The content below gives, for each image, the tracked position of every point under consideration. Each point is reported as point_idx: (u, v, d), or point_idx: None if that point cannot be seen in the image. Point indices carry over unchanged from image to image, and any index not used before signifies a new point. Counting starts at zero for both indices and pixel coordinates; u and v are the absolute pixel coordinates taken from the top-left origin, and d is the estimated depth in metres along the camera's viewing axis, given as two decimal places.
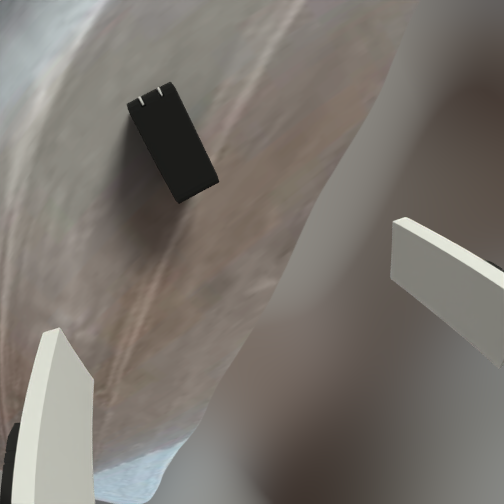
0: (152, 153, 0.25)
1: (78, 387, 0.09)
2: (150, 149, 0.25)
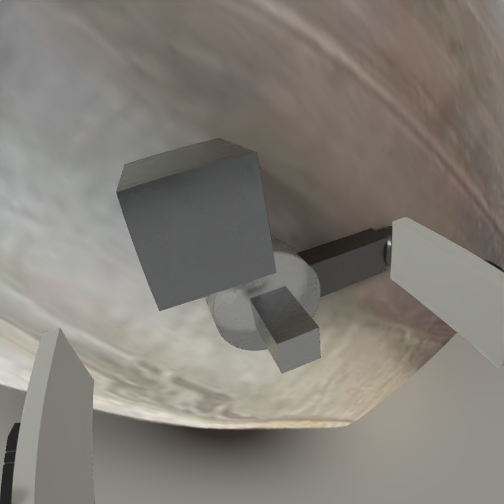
0: None
1: (78, 387, 0.09)
2: None
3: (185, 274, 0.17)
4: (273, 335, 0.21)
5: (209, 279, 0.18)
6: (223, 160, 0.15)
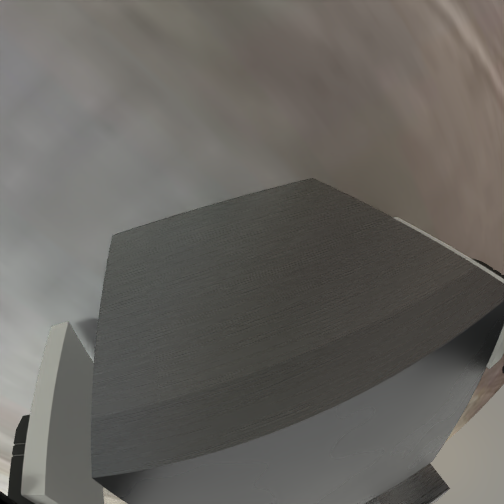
0: None
1: (86, 380, 0.09)
2: None
3: None
4: None
5: None
6: (455, 328, 0.04)
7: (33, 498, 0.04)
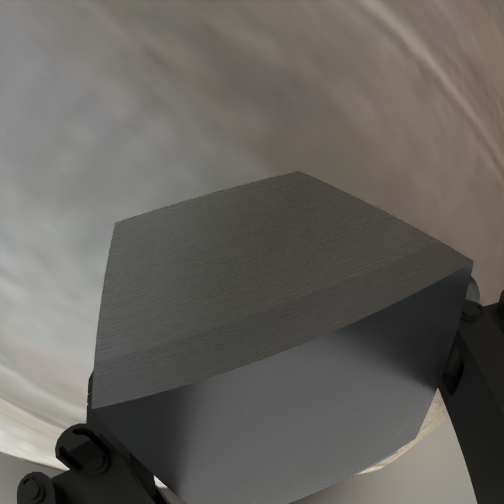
0: None
1: None
2: None
3: (272, 491, 0.07)
4: None
5: (314, 483, 0.07)
6: (410, 288, 0.05)
7: None
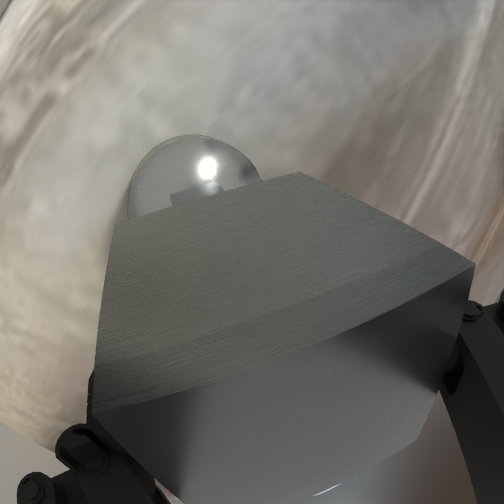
0: None
1: None
2: None
3: (273, 493, 0.07)
4: None
5: (314, 485, 0.07)
6: (413, 292, 0.05)
7: None
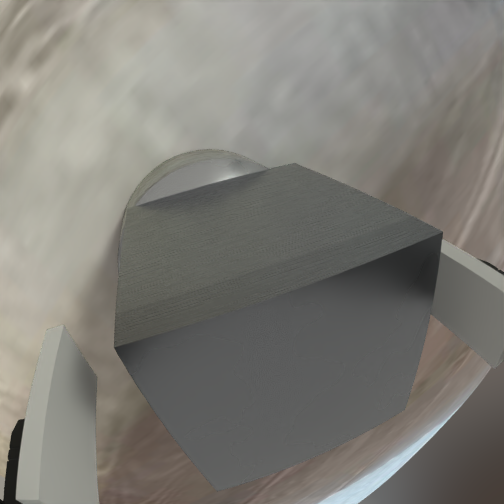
0: None
1: (82, 384, 0.09)
2: None
3: (269, 451, 0.08)
4: None
5: (308, 447, 0.08)
6: (384, 251, 0.06)
7: (28, 503, 0.04)
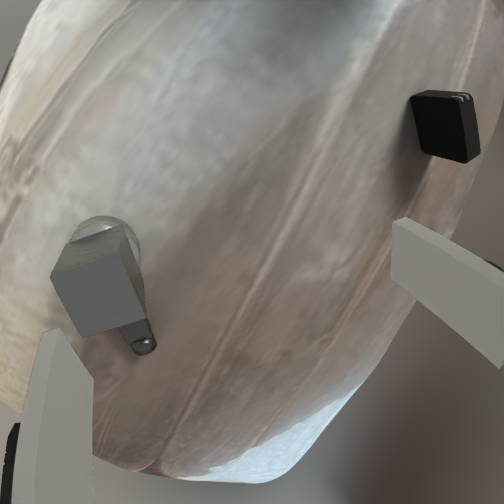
0: (464, 131, 0.35)
1: (78, 387, 0.09)
2: (463, 128, 0.35)
3: (92, 318, 0.27)
4: None
5: (106, 321, 0.28)
6: (101, 258, 0.26)
7: None
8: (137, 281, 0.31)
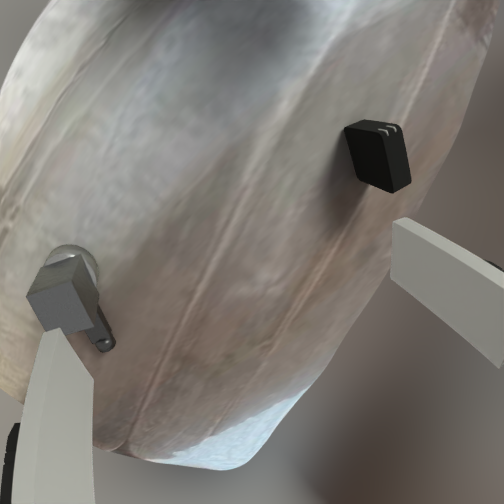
0: (388, 163, 0.43)
1: (78, 387, 0.09)
2: (388, 161, 0.43)
3: (56, 325, 0.35)
4: None
5: (66, 328, 0.36)
6: (59, 284, 0.34)
7: None
8: (90, 298, 0.39)
